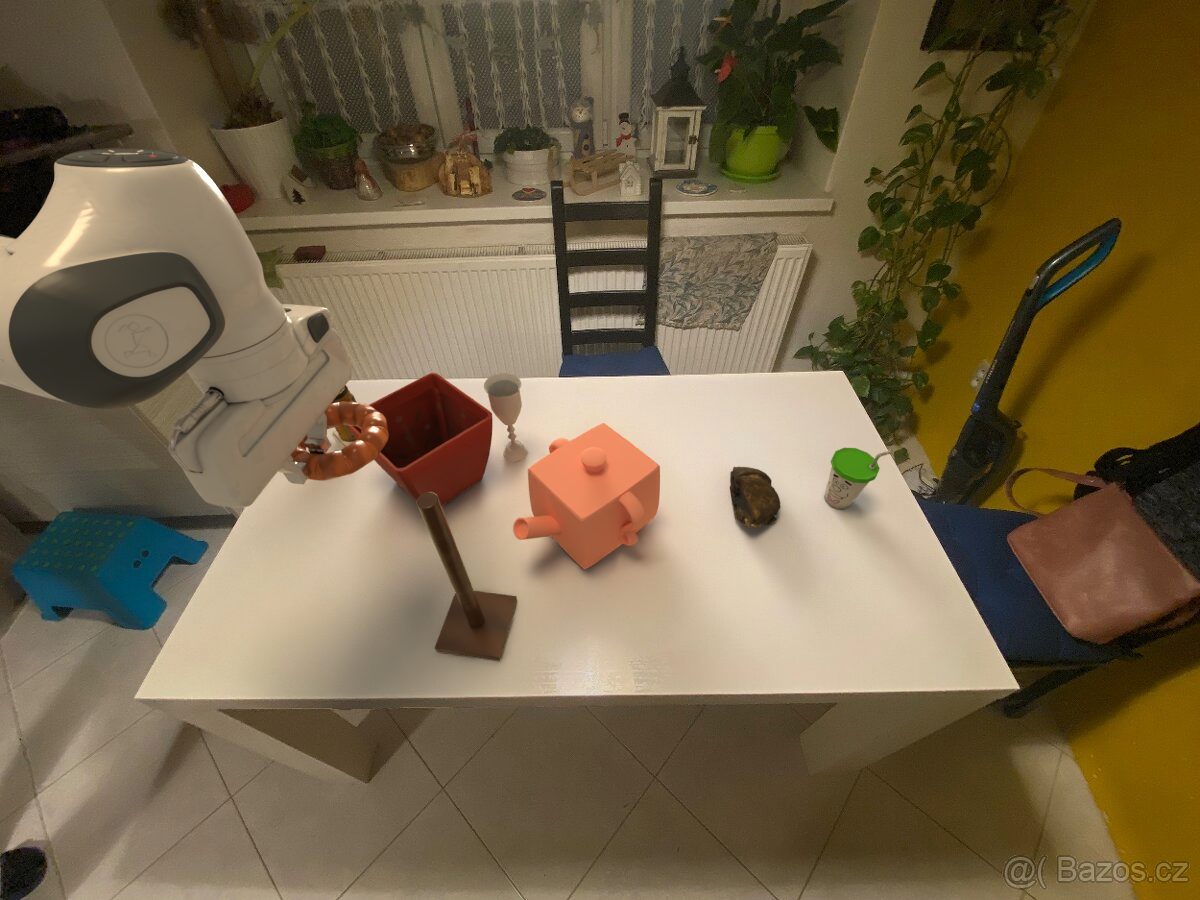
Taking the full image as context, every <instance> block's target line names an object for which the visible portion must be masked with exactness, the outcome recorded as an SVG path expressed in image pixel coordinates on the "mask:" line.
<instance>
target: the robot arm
mask: <svg viewBox="0 0 1200 900" xmlns="http://www.w3.org/2000/svg"><path fill="white" fill-rule="evenodd" d="M53 170H54V179H53V180H54V181H53V184H52V186H51V188H50V190H49V193H48V195H47V197H46V199H45V201H44V203H43V205H42V207H41V208H40V210H39V212H38V213H37V215H36V216H35V218H34V219H33V220H32V222H31V223H30V224H29V225H28V226H27V227H26V229H25V230H24V231H23V232H21V234H20V235H19V236H18V237H11V236H8V235H4V234H1V233H0V385H1V386H6V387H10V388H13V389H16V390H18V391H22V392H24V393H27V394H31V395H34V396H39V397H41V398H46V399H50V400H53V401H58V402H62V403H65V404H69V405H75V406H79V407H84V408H91V409H117V408H118V409H119V408H125V407H128V406H129V407H130V406H133V405H134V406H135V405H137V404H140V403H143V402H145V401H147V400H149V399H152V398H154V397H155V396H157V395H158V394H159V395H160V393H162V392H163V391H164V390H165V389H167V388H168V387H170V386H171V385H172V384H173V383H175V382H176V381H177V380H179V378H180V377H182V376H183V375H184V374H185V373H186V374H187V375H188V377H189V378H190V379H191V381H192V382H193V383H194V385H195V386H196V388H197V389H198V390H199V392H200V393H201V396H200V397H199V398H198V399H197V400H196V401H195V402H194V403H193V405H192V406H191V408H190V409H188V411H186V413H183V414H181V415H180V416H179V417H178V418H177V419H176V420H175V421H174V423H173V424H172V426H171V429H172V430H173V432H172V433H171V435H170V438H169V444H168V446H167V450H168V452H169V454H170V456H171V458H173V459H174V460H175V462H176V463H177V464H178V465H179V467H180V468H181V470H182V471H183V473H184V474H185V476H186V478H187V479H188V481H189V482H190V484H191V486H192V487H193V488H194V490H195V491H196V492H197V494H198V495H199V497H201V499H202V500H203V501H204V502H205V503H207V504H209V505H212V506H217V507H221V508H222V507H223V508H248V507H250V506H252V505H253V504H254V502H255V501H256V500H257V499H258V497H259V496H260V495H261V494H262V492H263V491H264V490H265V489H266V487H267V486H268V485H269V483H270V482H271V481H272V480H273V478H274V477H275V476H276V475H277V473H282V474H283V475H284V477H285V479H286V480H287V481H288V482H289V483H291V484H294V485H304V484H306V482H307V480H309V479H308V477H309V476H310V475H311V470H309V467H308V465H307V464H306V463H301V462H300V463H296V462H292V461H293V458H292V456H291V454H292V453H293V451H294V450H295V449H296V447H297V446H298V445H299V444H300V442H301V441H302V440H303V439H304V437H305V436H306V435H307V437H308V439H307V440H306V441H305V443H304V444H305V446H306V449H307V452H309V453H314V454H326V453H328V451H329V450H330V448H331V447H332V443H331V442H330V439H329V438H328V429H327V417H326V415H325V413H324V412H325V410H326V409H327V408H328V407H329V405H330V404H331V403H332V401H333V400H334V399H335V398H336V396H337V395H338V394H339V392H340V391H341V390H342V389H343V387H344V386H345V385H346V386H347V384H348V383H349V381H350V380H351V378H352V375H353V364H352V360H351V357H350V355H349V352H348V350H347V348H346V346H345V344H344V341H343V340H342V337H341V335H340V334H339V333H338V331H337V330H336V329H335V328H334V327H333V326H334V319H333V317H332V313H331V312H330V310H329V309H328V308H327V307H322V306H316V305H308V304H307V305H306V304H296V303H295V304H293V303H292V304H291V303H281V302H280V301H279V300H278V299H277V297H275V296H274V295H273V293H272V291H271V290H270V289H269V287H268V285H267V283H266V280H265V276H264V269H263V265H262V262H261V260H260V258H259V256H258V253H257V251H256V249H255V247H254V246H253V244H252V242H251V240H250V238H249V236H248V235H247V233H246V231H245V229H244V227H243V225H242V224H241V222H240V220H239V218H238V217H237V215H236V213H235V211H234V209H233V208H232V207H231V205H230V203H229V202H228V200H227V198H226V197H225V195H224V194H223V193H222V191H221V190H220V188H219V187H218V186H217V185H216V183H215V182H214V181H213V179H212V178H211V177H210V176H209V174H208V173H207V172H206V171H205V170H204V169H203V168H202V167H201V166H200V165H199V164H197V162H195V161H194V160H191V159H189V158H187V157H186V156H184V155H181V154H180V153H179V154H178V153H175V152H172V151H171V152H170V151H166V150H165V151H164V150H158V149H151V148H139V147H138V148H124V147H110V148H108V147H107V148H95V149H86V150H78V151H75V152H70V153H69V154H66V155H64V156H62V157H60V158H57V159H56V160H55V161H54V165H53Z"/></svg>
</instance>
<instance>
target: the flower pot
mask: <svg viewBox="0 0 1200 900" xmlns="http://www.w3.org/2000/svg"><path fill="white" fill-rule="evenodd" d="M368 405H369V406H371V407H372V408H374V409H375V410H377V411H378V412H380V413H381V414H383V415H384V417H385V418H386V421H387V427H388V433H389V438H388V441H387V442H386V444H385V446H384V447H383V449H382V450H381V452H380V453H379V455H378V456H377V458H376V459H374V460H373V461H375V462H376V464H377V465H378V466H379V467H380V468H381V469H382V470H383V471H384V472H385V473H386V474H387V475H388V476H389V477H390V478H391V479H392V480H393V481H394V482H396V483H397V484H398V485H399V486H400V487H401V488H402V489H403V490H404V491H405V492H406V493H407V495H409V496H410V497H411V498H412V499H413V500H414V501H415V502H417V499H418V497H419V496H420V495H422V494H424V493H427V492H433V493H435V494H436V495H437V496H438V498H439V501H440V504H441V506H442V507H444V506H445V505H446V504H448V503H449V502H451V501H452V500H454V499H456V498H457V497H458V496H460V495H461V494H463V493H464V492H466V491H467V490H469V489H470V488H472V487H473V486H475V485H477V484H478V483H480V482H481V481H482V480H483V478H484V475H485V473H486V469H487V466H488V462H489V458H490V453H491V446H492V439H493V413H492V412H491V411H490V409H488V408H487V407H485V406H483V405H482V404H481V403H479V402H478V401H476V400H475V399H474V398H472V397H471V396H469V395H467V394H466V393H465V392H464V391H463V390H462V389H460V388H458V387H457V386H455V385H454V384H453V383H451V382H450V381H448V380H447V379H445V378H444V377H443V376H442V375H440V374H439V373H438V372H430V373H428V374H426V375H424V376H422V377H420V378H418V379H416V380H414V381H412V382H410V383H408V384H406V385H404V386H402V387H400V388H399V389H397V390H395V391H393V392H391V393H389V394H387V395H385V396H383V397H381V398H379V399H377V400H375V401H373V402H371V403H370V404H368ZM347 426H348V428H349V429H350V430H351V432H352V433H353V435H354V436H355V437H356V439H357V438H358V437H359V435H360V434H361V429H360V428H359V427H357V426H349V425H347Z"/></svg>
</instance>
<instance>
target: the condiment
mask: <svg viewBox="0 0 1200 900" xmlns="http://www.w3.org/2000/svg"><path fill="white" fill-rule="evenodd" d="M337 402H355V403H358V401H357V400H356V398H355V396H354V394H353V393H352V392H351V391H350V390H349V387H348V386H347V384H346V385H345V386H344V387H343V389H342V390H341V391H340V392H339V394H338V395H337V396H336V398H335V399H334V400H333V401H332V403H337ZM332 403H331V404H332ZM334 429H335V430H333V431H332V433H333V434H334V436H336V437H337V438H338V440H339V441H340V442H341V443H342V444H343V445H344V447H346V446H348V445H349V444H351V443H353V442H354V441H356V437H355V436H354V435H353V433H352V432H351V430H350V429H349V428H348V426H347V425H343V426H339V427H334Z"/></svg>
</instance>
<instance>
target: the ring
mask: <svg viewBox="0 0 1200 900" xmlns="http://www.w3.org/2000/svg"><path fill="white" fill-rule="evenodd" d="M324 413H325V415H326V417H327V430H331V429H335V427H339V426H343V425H349V426H357V427H359V428H360V429H361V434H360V435H359V437H358V438H357V439H356V441H354V442H353V443H351V444H349V445H348V446H344V447H342V448H341V449H338V450H333V451H330V452H326V454H314V453H310V452H309V451H308V450H307V448H306V446H305V444H304V443H305V441H306V440H307V439H308V437H307V435H306V436H305V437H304V439H303V440H302V441H301V442H300V444H299V445H298V446H297V447H296V449H295V450H294V451H293V453H292V454H291V456H292V458H293V461H292V462H296V463H300V462H301V463H306V464H307V465H308V467H309V470H311V475H310V476H309V477H308V479H307V480H312V481H320V482H324V481H325V482H326V481H330V480H333V479H337V478H342V477H345V476H350V475H352V474H354V473H356V472H358V471H359V470H361V469H362V468H364V467H365V466H367V465H368V464H370V463H372V462H373V461H375V460H374V459H376V458H377V456H378V455H379V453H380V452H381V450H382V449H383V447H384V446H385V444H386V442H387V441H388V438H389V433H388V427H387V421H386V418H385V417H384V415H383V414H381V413H380V412H378V411H377V410H375V409H374V408H372V407H371V406H369V404H367V403H364V402H363V403H362V402H357V403H355V402H337V403H332V404H330V405H329V407H328V408H327V409H326V410H325V412H324Z"/></svg>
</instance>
